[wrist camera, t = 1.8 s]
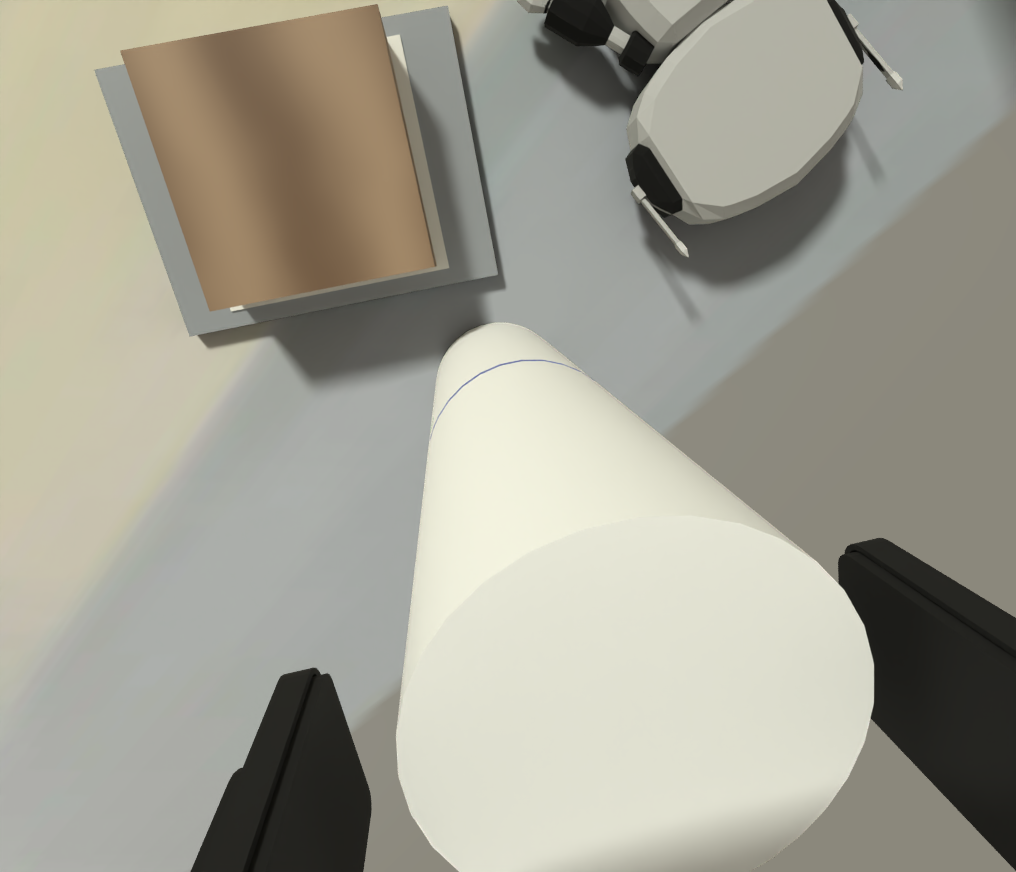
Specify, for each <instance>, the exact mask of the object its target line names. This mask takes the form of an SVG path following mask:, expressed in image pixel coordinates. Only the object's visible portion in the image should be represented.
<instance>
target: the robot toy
mask: <svg viewBox="0 0 1016 872" xmlns="http://www.w3.org/2000/svg"><path fill="white" fill-rule="evenodd" d="M727 1H728V0H517V2H518V3H519V4H520V5H521V6H522V7H523V8H524V9H525V10H526V11H527V12H528V13H547V16H546V19H545V23H544V27H546V28H548V29H549V30H551V31H553V32H554V33H556V34H558V35H559V36H561V37H562V38H564V39H566V40H567V41H569V42H571V43H572V44H574V45H576V46H600V45H606V46H608V47H609V48H611V49H612V50H614V51H616V52H617V53H619V54H621V55H620V57H619V65H620V66H622V67H623V68H625V69H627V70H628V71H630V72H632V73H633V74H635V75H637V76H638V75H639V74H640V73H641V71H642V70H643V68H644V67H645V65H646V63H662V62H663V61H664V60H665V59H666V60H665V61H664V62H663V63H662V65H661V66H660V67H659V68H658V70H657V71H656V72H655V74H654V75H653V76H652V78H651V79H650V81H649V82H648V83H647V85H646V86H645V88H644V89H643V91H642V92H641V93H640V95H639V97H638V99H637V100H636V102H635V104H634V106H633V109H632V112H631V116H630V119H629V122H628V125H627V129H626V130H627V135H628V140H629V145H630V150H631V152H630V153H629V155H628V156H627V158H626V159H625V160H626V164H627V168H628V172H629V176H630V180H631V183H632V184H633V186H634V187H635V188H634V189H633V190H632V192H631V195H632V196H633V198H634V199H635V200H636V201H637V203H638V204H640V203H642V205H643V206H644V207H645V208H646V210H647V211H648V212H649V213H650V215H651V216H652V217H653V218H654V220H655V221H656V222H657V223H658V225H659V226H660V227H661V228H662V230H663V231H664V232H665V233H666V235H667V236H668V237H669V238H670V240H671V241H672V242H673V243H674V245H675V248H676V249H677V250H678V252H679V253H680V254H681V255H683V256H686V257H688V258H689V255H688V250H687V248H686V247H685V245H684V244H683V243H682V242H681V241H679V240H678V239H677V237H676V236H675V235H674V234H673V232H672V231H671V230H670V229H669V227H668V226H667V225H666V224H665V222H664V221H663V220H662V219H661V217H660V216H659V215H658V214H660V215H661V216H662V217H667V216H670V215H674V216H676V217H677V218H679V219H681V220H682V221H684V222H685V223H687V224H689V225H695V224H711V223H715V222H718V221H722V220H725V219H728V218H731V217H734V216H737V215H739V214H742V213H744V212H747V211H749V210H751V209H754V208H756V207H758V206H760V205H762V204H764V203H765V202H767V201H769V200H771V199H772V198H774V197H776V196H778V195H779V194H781V193H783V192H785V191H786V190H788V189H790V188H792V187H794V186H795V185H797V184H798V183H799V182H800V181H801V180H802V179H803V178H804V177H805V176H806V175H807V174H808V173H809V172H810V171H811V170H812V168H813V167H814V166H815V165H816V164H817V163H818V162H819V161H820V160H821V159H822V158H823V157H824V156H825V155H826V154H827V153H828V152H829V151H830V150H831V149H832V147H833V146H834V145H835V143H836V142H837V141H838V139H839V138H840V137H841V136H842V134H843V133H844V132H845V130H846V129H847V127H848V126H849V124H850V122H851V121H852V119H853V117H854V115H855V112H856V109H857V107H858V104H859V102H860V99H861V96H862V89H863V67H862V64H863V62H864V58H863V51H864V52H865V53H866V54H867V56H868V57H869V58H870V59H871V60H872V62H873V63H874V64H875V65H876V66H877V68H878V69H879V70H880V71H881V72H882V74H883V75H884V76H885V77H886V78H887V80H886V81H887V83H888V84H889V85H890V86H891V87H892V89H898V90H903V82H902V78H901V77H900V76H899V75H898V74H897V72H896V71H895V72H893V71H892V70H891V68H890V67H889V66H888V65H887V64H886V62H885V61H884V60H883V59H882V58H881V56H880V55H879V54H878V53H877V52H876V50H875V49H874V48H873V47H872V46H871V44H870V43H869V42H868V41H867V40H866V38H865V37H864V36H863V35H862V34H861V32H860V31H859V30H858V29H857V28H856V27H857V26H858V24H859V23H858V22H857V21H856V20H855V18H854V17H853V16H852V15H851V14H849V15H848V16H847V15H846V13H845V11H844V9H843V8H841V7H840V6H839V5H838V3H837V2H836V1H835V0H734V1H732V2H731V3H729V4H727V5H726V6H724V5H725V3H726V2H727ZM723 6H724V7H723ZM862 50H863V51H862ZM657 213H658V214H657Z"/></svg>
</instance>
